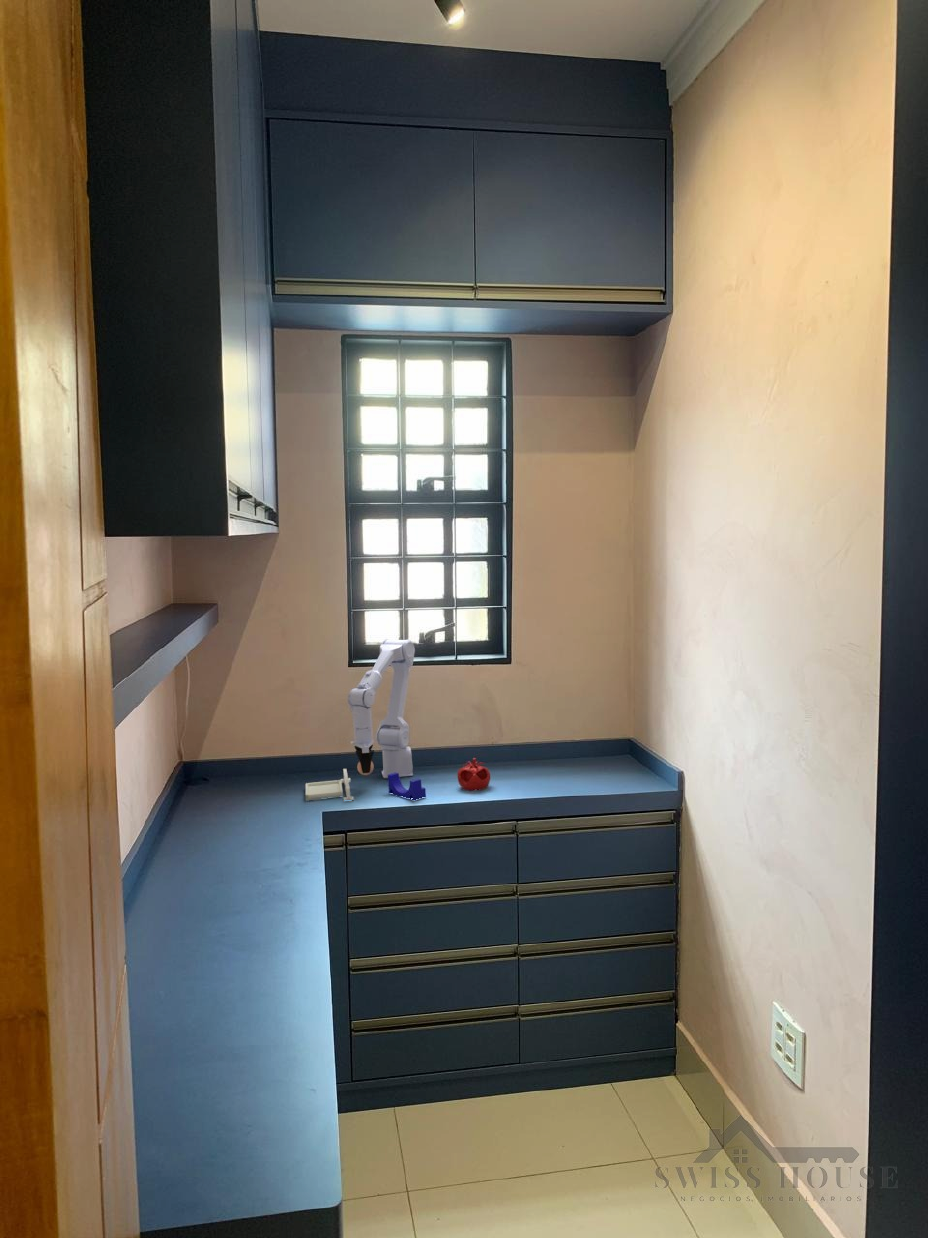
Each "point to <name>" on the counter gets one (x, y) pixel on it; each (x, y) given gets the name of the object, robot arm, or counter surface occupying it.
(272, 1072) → the counter surface
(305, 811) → the counter surface
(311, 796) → the resting dish
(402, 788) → the cable clip
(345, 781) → the low wall
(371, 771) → the ball
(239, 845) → the counter surface
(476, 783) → the red carved pumpkin
